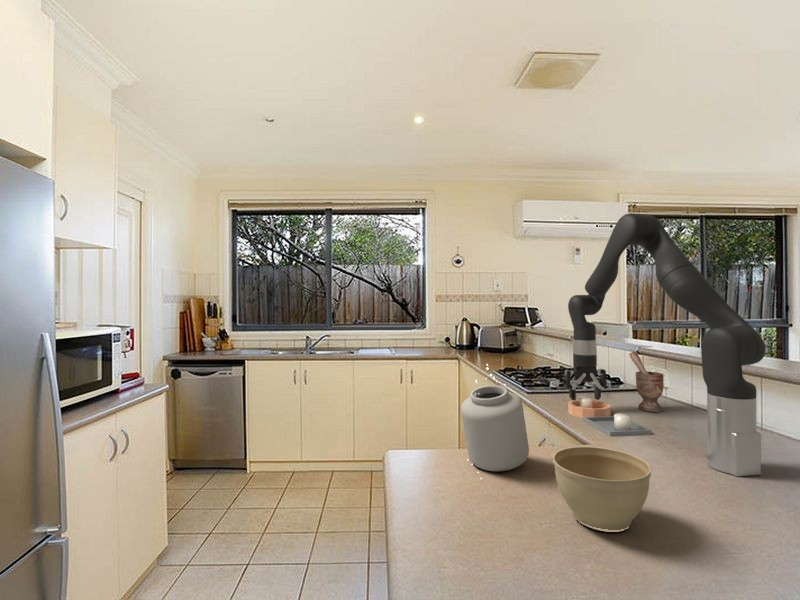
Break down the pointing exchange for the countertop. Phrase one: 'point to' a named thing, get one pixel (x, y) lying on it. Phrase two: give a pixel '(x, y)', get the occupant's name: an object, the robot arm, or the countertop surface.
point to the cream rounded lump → (585, 402)
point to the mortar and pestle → (648, 386)
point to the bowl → (589, 409)
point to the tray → (607, 426)
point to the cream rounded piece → (622, 422)
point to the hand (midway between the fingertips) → (585, 399)
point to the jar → (495, 428)
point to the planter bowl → (602, 485)
